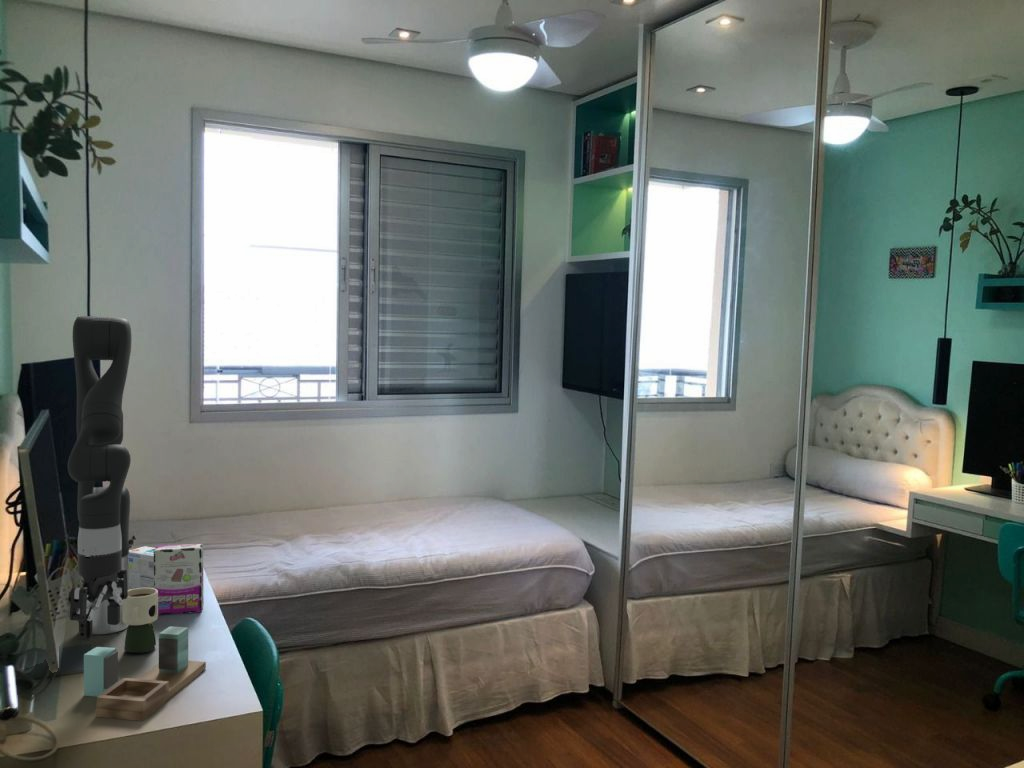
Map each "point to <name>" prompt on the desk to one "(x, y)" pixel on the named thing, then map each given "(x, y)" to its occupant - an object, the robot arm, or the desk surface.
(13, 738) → the desk surface
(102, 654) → the teal rectangular prism
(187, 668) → the wooden tray with block
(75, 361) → the robot arm
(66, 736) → the desk surface
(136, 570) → the light bulb box
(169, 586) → the candy bar box
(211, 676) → the desk surface
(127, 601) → the character mug
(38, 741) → the desk surface
